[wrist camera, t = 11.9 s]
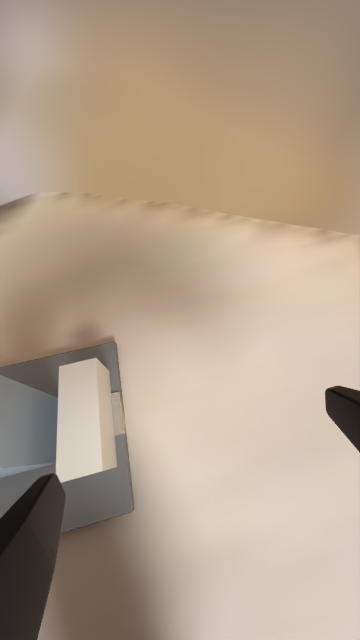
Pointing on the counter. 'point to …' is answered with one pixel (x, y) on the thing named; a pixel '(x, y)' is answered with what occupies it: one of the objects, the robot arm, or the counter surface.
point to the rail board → (80, 434)
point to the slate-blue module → (26, 428)
